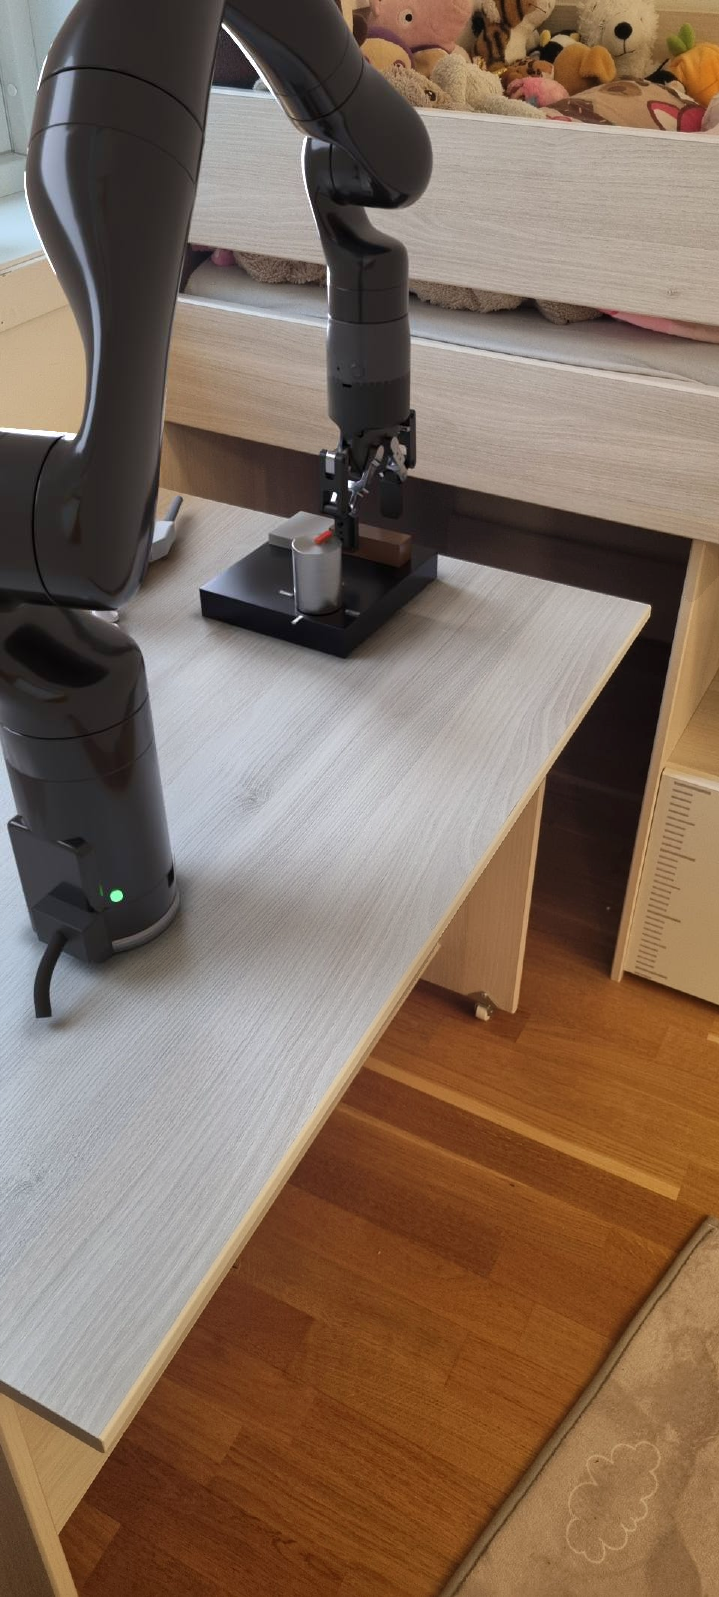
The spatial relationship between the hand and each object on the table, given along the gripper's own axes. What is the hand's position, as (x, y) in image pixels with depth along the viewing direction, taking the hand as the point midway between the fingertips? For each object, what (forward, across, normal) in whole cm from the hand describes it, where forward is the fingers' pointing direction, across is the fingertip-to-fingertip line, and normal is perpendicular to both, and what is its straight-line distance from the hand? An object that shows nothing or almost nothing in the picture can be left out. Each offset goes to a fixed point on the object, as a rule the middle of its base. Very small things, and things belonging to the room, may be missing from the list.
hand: (369, 533), depth 116 cm
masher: (+2, 0, -2) cm, 3 cm away
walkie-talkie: (+5, +6, -26) cm, 27 cm away
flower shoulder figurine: (+5, +20, -18) cm, 27 cm away
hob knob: (+2, +11, +1) cm, 11 cm away
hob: (+5, +5, -2) cm, 8 cm away
